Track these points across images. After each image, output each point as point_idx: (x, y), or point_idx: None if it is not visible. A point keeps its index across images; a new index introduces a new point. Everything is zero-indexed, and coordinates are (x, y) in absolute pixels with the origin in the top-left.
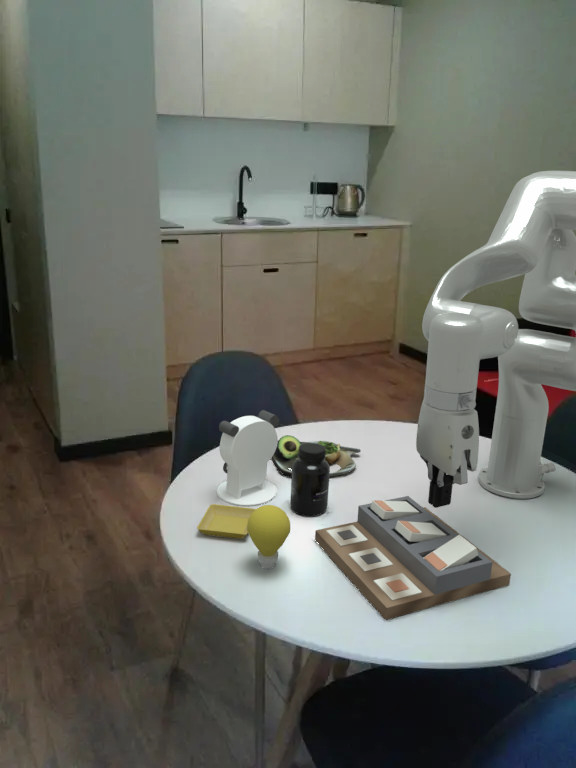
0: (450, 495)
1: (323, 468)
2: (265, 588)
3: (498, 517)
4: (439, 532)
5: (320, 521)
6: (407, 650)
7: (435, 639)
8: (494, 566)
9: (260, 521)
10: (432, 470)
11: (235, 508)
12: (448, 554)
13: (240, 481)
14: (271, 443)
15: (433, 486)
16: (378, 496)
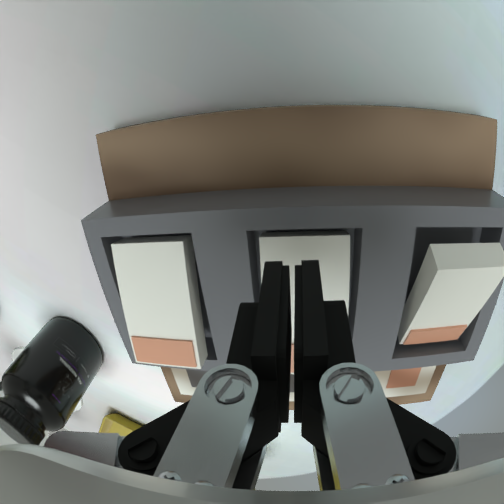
0: (320, 290)
1: (43, 409)
2: (284, 454)
3: None
4: (333, 256)
5: (117, 349)
6: (479, 378)
7: (493, 342)
8: (461, 133)
9: None
10: (253, 487)
11: (103, 427)
12: (451, 312)
13: None
14: None
15: (288, 410)
16: (25, 199)
